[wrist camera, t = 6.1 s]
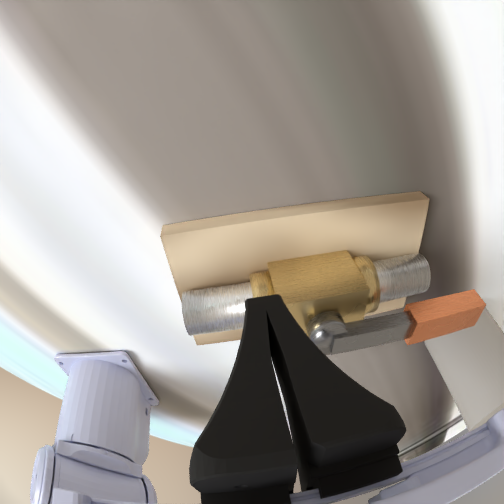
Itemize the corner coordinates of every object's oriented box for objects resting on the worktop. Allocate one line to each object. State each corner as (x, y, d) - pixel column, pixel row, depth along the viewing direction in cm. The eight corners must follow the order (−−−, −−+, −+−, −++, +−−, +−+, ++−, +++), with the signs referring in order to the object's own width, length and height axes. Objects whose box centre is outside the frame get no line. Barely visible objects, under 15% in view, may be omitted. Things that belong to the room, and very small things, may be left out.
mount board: (397, 297, 25) (403, 307, 24) (196, 333, 25) (196, 345, 24) (420, 191, 19) (429, 199, 18) (162, 225, 19) (160, 236, 18)
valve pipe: (403, 277, 23) (428, 316, 19) (194, 313, 22) (194, 362, 19) (412, 234, 21) (444, 271, 17) (181, 270, 20) (177, 320, 17)
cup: (443, 352, 33) (483, 430, 23) (412, 341, 30) (457, 436, 20) (489, 308, 30) (539, 384, 20) (465, 288, 26) (528, 380, 17)
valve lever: (304, 339, 18) (312, 366, 17) (308, 314, 17) (317, 342, 15) (460, 307, 19) (474, 326, 18) (471, 284, 18) (486, 303, 16)
